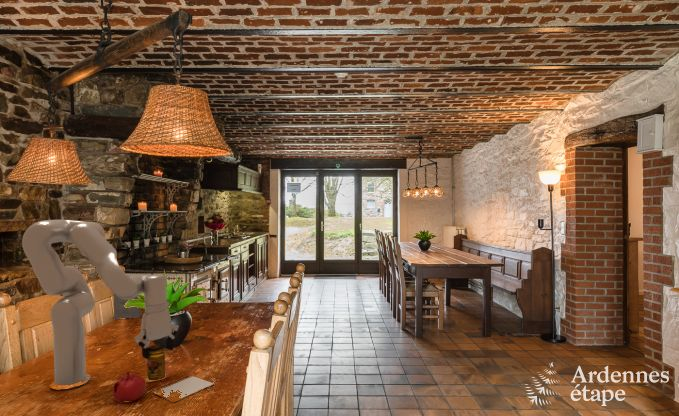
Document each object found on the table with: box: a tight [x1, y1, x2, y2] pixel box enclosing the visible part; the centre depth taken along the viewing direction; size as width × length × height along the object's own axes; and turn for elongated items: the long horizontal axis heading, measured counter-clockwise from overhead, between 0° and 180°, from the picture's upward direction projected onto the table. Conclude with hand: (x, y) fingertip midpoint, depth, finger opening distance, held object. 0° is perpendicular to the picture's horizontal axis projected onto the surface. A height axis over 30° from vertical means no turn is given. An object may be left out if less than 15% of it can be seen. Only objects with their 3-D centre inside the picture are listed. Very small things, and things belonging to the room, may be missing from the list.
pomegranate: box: [112, 370, 147, 403], centre depth 139 cm, size 10×10×9 cm
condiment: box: [146, 343, 166, 380], centre depth 156 cm, size 7×8×12 cm
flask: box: [113, 293, 142, 320], centre depth 241 cm, size 15×6×20 cm, turn 93°
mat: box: [153, 375, 215, 398], centre depth 145 cm, size 12×16×1 cm
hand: (158, 353), depth 156 cm, fingers open, 9 cm apart
